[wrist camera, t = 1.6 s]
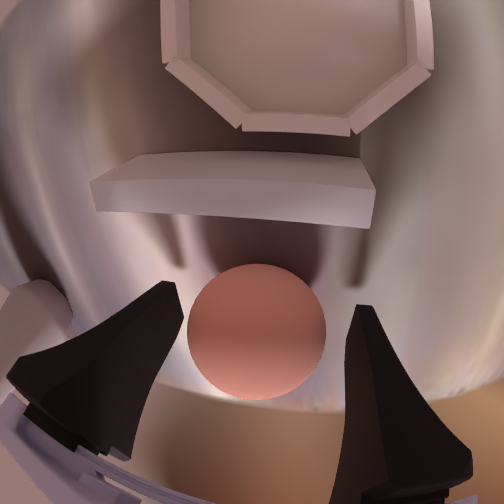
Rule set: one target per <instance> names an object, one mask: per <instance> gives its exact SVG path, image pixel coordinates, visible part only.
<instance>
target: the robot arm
mask: <svg viewBox="0 0 504 504" xmlns="http://www.w3.org/2000/svg"><path fill="white" fill-rule="evenodd" d="M183 319H184V315H183V312H182V308H181V304H180V300H179V297H178V293H177V289H176V285H175V282H169V281H161V282H159V283H158V284H156V285H155V286H153V287H152V288H151V289H149V290H148V291H147V292H145V293H144V294H142V295H141V296H140V297H138V298H137V299H136V300H134V301H133V302H131V303H130V304H129V305H127V306H126V307H125V308H123V309H122V310H120V311H119V312H117V313H116V314H114V315H113V316H111V317H110V318H108V319H107V320H105V321H104V322H102V323H101V324H99V325H97V326H96V327H94V328H92V329H90V330H88V331H87V332H85V333H83V334H81V335H79V336H77V337H75V338H73V339H70V340H68V341H66V342H64V343H62V344H59V345H57V346H54V347H51V348H48V349H46V350H43V351H39V352H36V353H32V354H28V355H24V356H20V357H19V358H18V359H17V361H16V362H15V364H14V365H13V366H12V368H11V369H10V370H9V372H8V373H7V375H6V378H7V380H8V381H9V382H10V383H11V384H12V385H13V386H14V387H15V388H16V389H17V390H18V391H19V392H20V393H21V394H22V395H23V396H24V397H25V398H26V399H27V400H28V401H29V402H30V403H29V405H28V406H27V405H25V404H24V403H23V402H22V401H21V400H20V399H18V398H17V397H16V396H15V395H14V394H13V393H12V392H10V393H9V394H8V396H7V398H6V399H5V401H4V402H3V404H2V405H1V407H0V442H1V443H2V445H3V446H4V447H5V448H6V450H7V451H8V452H9V453H10V455H11V456H12V457H13V459H14V460H15V461H16V463H17V464H18V465H19V467H20V468H21V469H22V470H23V471H24V472H25V474H26V475H27V476H28V477H29V479H30V480H31V481H32V482H33V483H34V484H35V485H36V486H37V487H38V489H39V490H40V491H41V492H42V493H43V494H44V495H45V496H46V497H47V498H48V499H49V500H50V501H51V502H52V503H53V504H140V503H141V501H142V500H141V499H140V498H139V497H137V496H135V495H133V494H131V493H129V492H127V491H125V490H123V489H120V488H118V487H116V486H114V485H112V484H110V483H108V482H106V481H105V479H104V476H103V475H105V476H106V477H108V478H110V479H112V480H114V481H116V482H118V483H120V484H122V485H124V486H126V487H128V488H130V489H132V490H134V491H136V492H138V493H140V494H143V495H145V496H147V497H149V498H152V499H154V500H157V501H159V502H162V503H165V504H215V503H211V502H208V501H204V500H201V499H197V498H194V497H191V496H188V495H184V494H182V493H179V492H176V491H173V490H170V489H168V488H165V487H162V486H160V485H157V484H155V483H152V482H150V481H148V480H145V479H143V478H141V477H138V476H136V475H134V474H132V473H130V472H128V471H126V470H124V469H122V468H119V467H117V466H115V465H114V464H112V463H110V462H108V461H106V460H104V459H102V458H101V457H99V456H98V454H99V453H101V454H103V455H105V456H107V455H108V454H110V455H112V456H114V457H116V458H118V459H120V460H122V461H128V460H130V459H131V454H132V449H133V444H134V440H135V435H136V431H137V428H138V424H139V420H140V417H141V414H142V411H143V408H144V405H145V402H146V399H147V397H148V394H149V391H150V389H151V386H152V384H153V382H154V380H155V377H156V376H157V374H158V372H159V370H160V368H161V366H162V364H163V362H164V360H165V359H166V357H167V355H168V353H169V351H170V349H171V347H172V345H173V344H174V342H175V340H176V338H177V335H178V333H179V330H180V327H181V325H182V322H183ZM344 367H345V426H344V434H343V441H342V447H341V453H340V459H339V464H338V469H337V474H336V478H335V483H334V487H333V490H332V494H331V498H330V502H329V504H444V501H445V498H448V496H449V488H452V487H454V486H456V485H459V484H461V483H463V482H465V481H467V480H469V479H470V478H471V477H472V476H473V460H472V453H471V450H470V449H469V448H467V447H466V446H465V445H464V444H463V443H462V442H461V441H460V440H459V439H458V438H457V437H456V436H455V435H454V434H453V433H452V432H451V431H450V430H449V429H448V428H447V427H446V426H445V425H444V423H443V422H442V421H441V420H440V419H439V417H438V416H437V415H436V414H435V412H434V411H433V410H432V409H431V408H430V406H429V405H428V404H427V402H426V401H425V400H424V398H423V397H422V395H421V394H420V393H419V391H418V390H417V388H416V387H415V385H414V384H413V382H412V380H411V379H410V377H409V376H408V374H407V372H406V371H405V369H404V367H403V365H402V364H401V362H400V360H399V358H398V357H397V355H396V353H395V351H394V349H393V347H392V345H391V343H390V341H389V340H388V338H387V336H386V333H385V331H384V329H383V327H382V325H381V323H380V321H379V319H378V317H377V314H376V312H375V310H374V308H373V307H372V306H370V305H358V304H356V308H355V311H354V315H353V318H352V321H351V325H350V328H349V331H348V335H347V338H346V346H345V361H344ZM447 504H477V495H473V496H471V497H467V498H464V499H461V500H458V501H454V502H451V503H447Z"/></svg>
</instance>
